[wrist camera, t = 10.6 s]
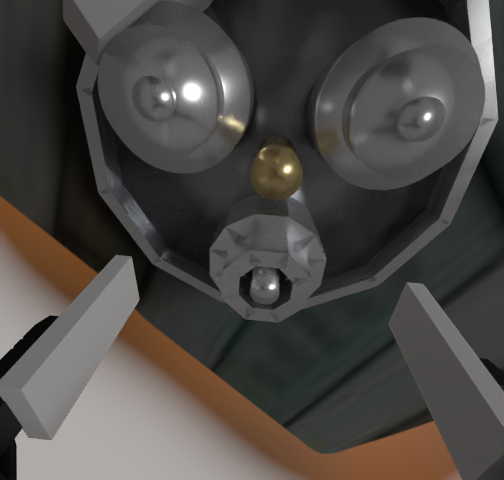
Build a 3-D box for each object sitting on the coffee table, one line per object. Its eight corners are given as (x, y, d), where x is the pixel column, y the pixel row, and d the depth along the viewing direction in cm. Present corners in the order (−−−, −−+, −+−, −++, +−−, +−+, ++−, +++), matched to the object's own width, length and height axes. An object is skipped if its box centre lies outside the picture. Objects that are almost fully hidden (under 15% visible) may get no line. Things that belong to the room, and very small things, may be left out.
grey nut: (220, 271, 22) (202, 328, 16) (221, 187, 18) (199, 225, 13) (307, 279, 21) (317, 340, 16) (323, 195, 18) (344, 238, 13)
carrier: (76, -100, 13) (-141, -311, 6) (536, -75, 13) (857, -280, 6) (137, 269, 24) (80, 343, 17) (390, 294, 23) (441, 381, 16)
